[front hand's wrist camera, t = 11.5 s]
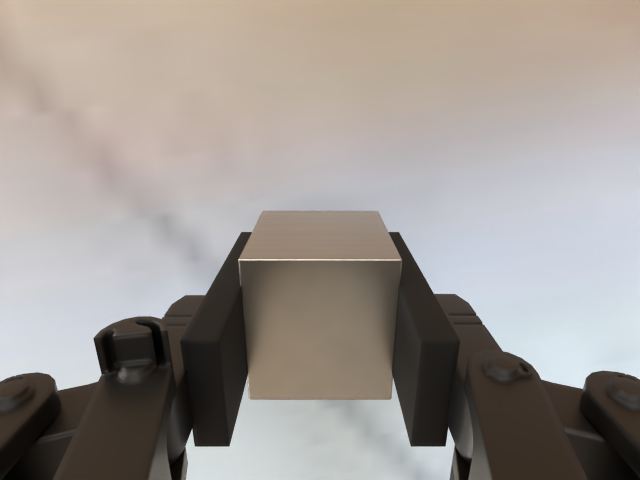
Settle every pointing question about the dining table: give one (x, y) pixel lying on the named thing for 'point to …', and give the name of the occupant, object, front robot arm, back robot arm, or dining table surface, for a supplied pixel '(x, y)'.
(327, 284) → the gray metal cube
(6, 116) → the dining table surface
